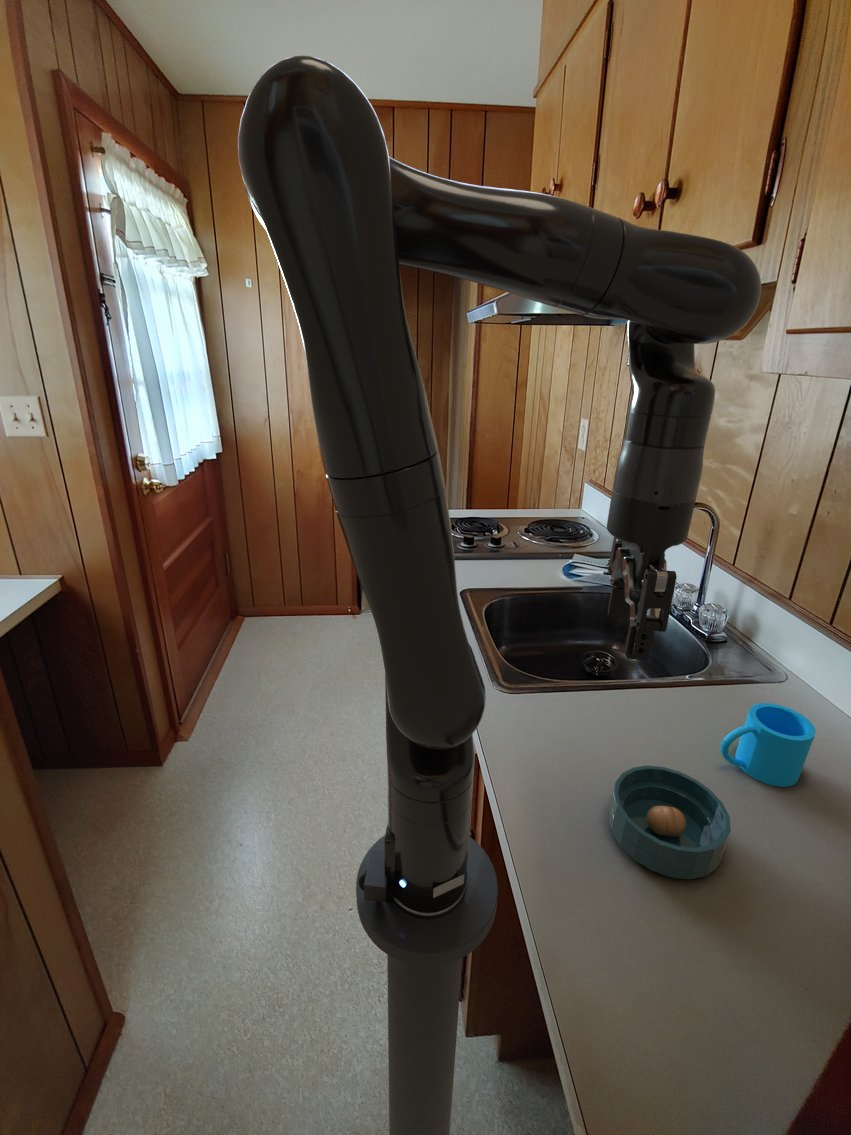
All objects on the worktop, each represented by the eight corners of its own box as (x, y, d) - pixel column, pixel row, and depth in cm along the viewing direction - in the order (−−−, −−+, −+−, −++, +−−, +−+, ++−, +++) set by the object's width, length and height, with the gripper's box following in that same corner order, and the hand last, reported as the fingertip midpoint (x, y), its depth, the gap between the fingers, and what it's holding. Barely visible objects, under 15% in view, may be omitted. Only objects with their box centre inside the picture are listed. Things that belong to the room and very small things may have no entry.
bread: (648, 840, 68) (653, 820, 66) (641, 818, 71) (646, 798, 69) (686, 844, 67) (692, 824, 66) (678, 821, 70) (683, 801, 69)
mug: (773, 745, 85) (788, 701, 82) (812, 785, 77) (830, 739, 74) (699, 748, 84) (712, 704, 81) (731, 789, 76) (746, 743, 73)
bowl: (620, 876, 64) (627, 845, 62) (599, 789, 76) (604, 761, 74) (739, 888, 63) (750, 857, 61) (698, 798, 75) (706, 770, 73)
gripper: (600, 470, 59) (580, 604, 66) (631, 509, 46) (603, 671, 53) (671, 473, 59) (644, 608, 65) (724, 513, 46) (683, 677, 52)
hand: (625, 636), depth 59 cm, fingers open, 8 cm apart
